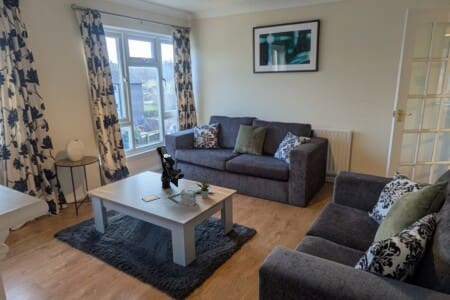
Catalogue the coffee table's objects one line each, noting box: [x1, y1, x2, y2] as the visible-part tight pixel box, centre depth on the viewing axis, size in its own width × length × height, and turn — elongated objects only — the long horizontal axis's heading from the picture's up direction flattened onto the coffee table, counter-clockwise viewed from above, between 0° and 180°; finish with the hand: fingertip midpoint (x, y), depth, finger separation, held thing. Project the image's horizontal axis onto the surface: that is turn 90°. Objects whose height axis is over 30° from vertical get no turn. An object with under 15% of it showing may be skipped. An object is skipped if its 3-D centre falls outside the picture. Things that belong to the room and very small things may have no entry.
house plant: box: [195, 177, 213, 199], centre depth 244 cm, size 14×14×16 cm
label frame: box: [167, 193, 181, 204], centre depth 242 cm, size 13×15×1 cm
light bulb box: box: [179, 188, 197, 206], centre depth 231 cm, size 11×7×11 cm, turn 75°
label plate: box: [141, 193, 161, 203], centre depth 243 cm, size 12×9×1 cm
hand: (177, 186), depth 241 cm, fingers closed
